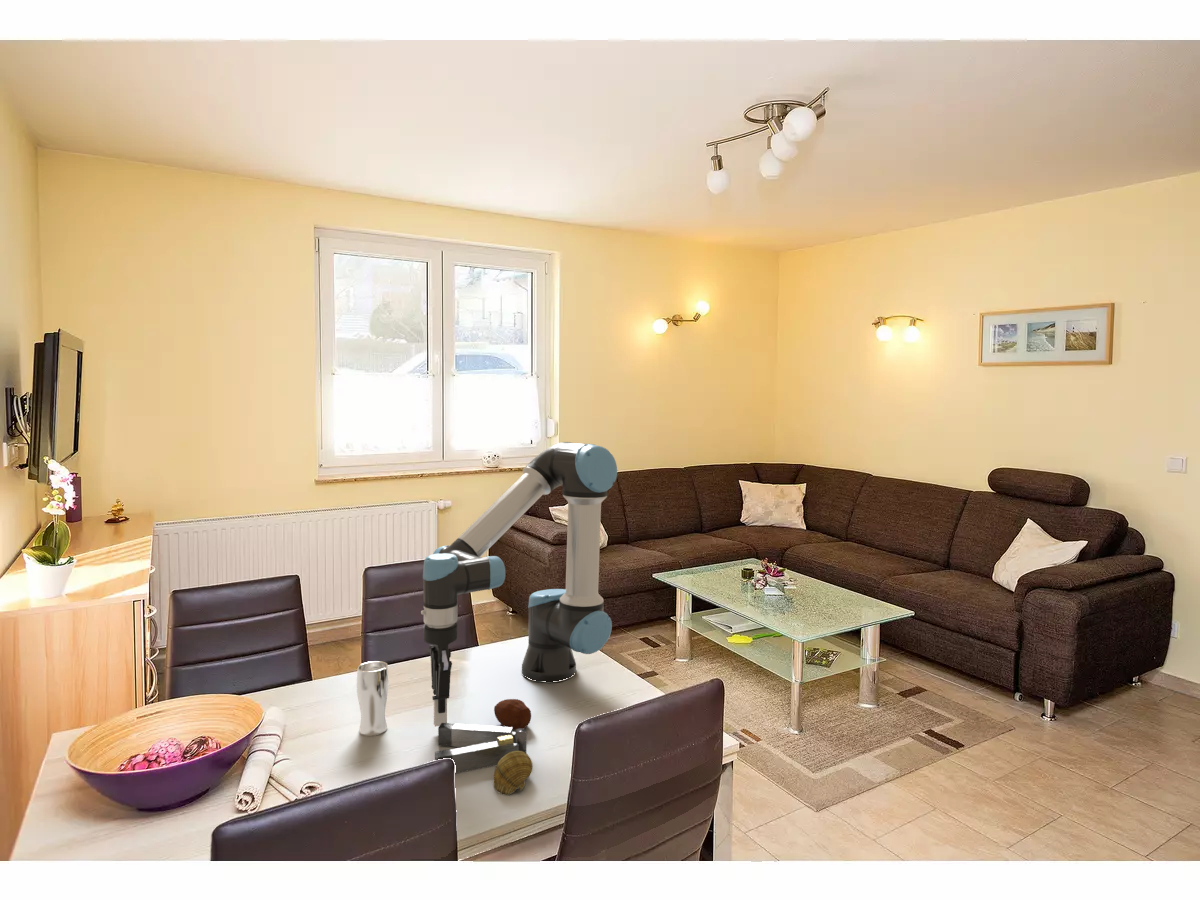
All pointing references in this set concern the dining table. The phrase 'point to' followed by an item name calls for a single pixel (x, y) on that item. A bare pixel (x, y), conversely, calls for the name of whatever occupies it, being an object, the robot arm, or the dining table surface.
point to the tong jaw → (470, 734)
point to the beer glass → (372, 696)
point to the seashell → (512, 772)
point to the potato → (512, 713)
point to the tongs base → (485, 752)
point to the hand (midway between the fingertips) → (440, 724)
